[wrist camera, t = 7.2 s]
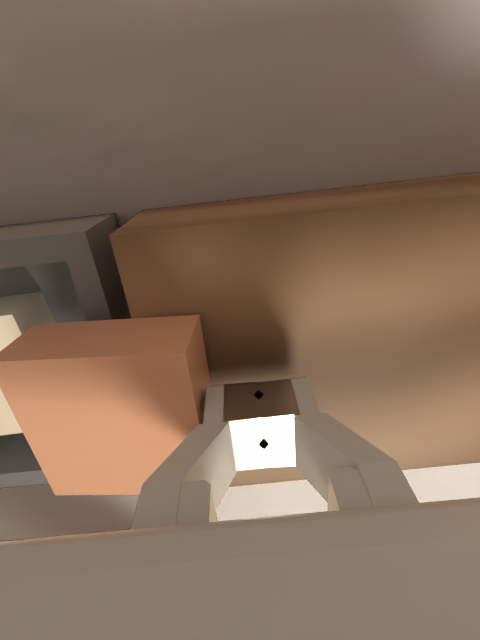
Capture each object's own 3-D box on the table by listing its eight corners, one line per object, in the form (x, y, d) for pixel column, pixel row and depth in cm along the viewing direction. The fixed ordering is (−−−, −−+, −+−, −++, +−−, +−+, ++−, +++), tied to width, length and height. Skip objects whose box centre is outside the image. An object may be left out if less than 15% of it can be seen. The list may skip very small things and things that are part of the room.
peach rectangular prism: (220, 442, 12) (212, 494, 10) (84, 444, 13) (55, 495, 11) (199, 314, 10) (185, 352, 8) (34, 324, 10) (-13, 362, 8)
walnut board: (474, 390, 17) (541, 456, 13) (189, 419, 17) (179, 491, 13) (532, 166, 12) (658, 174, 9) (142, 209, 12) (108, 235, 9)
